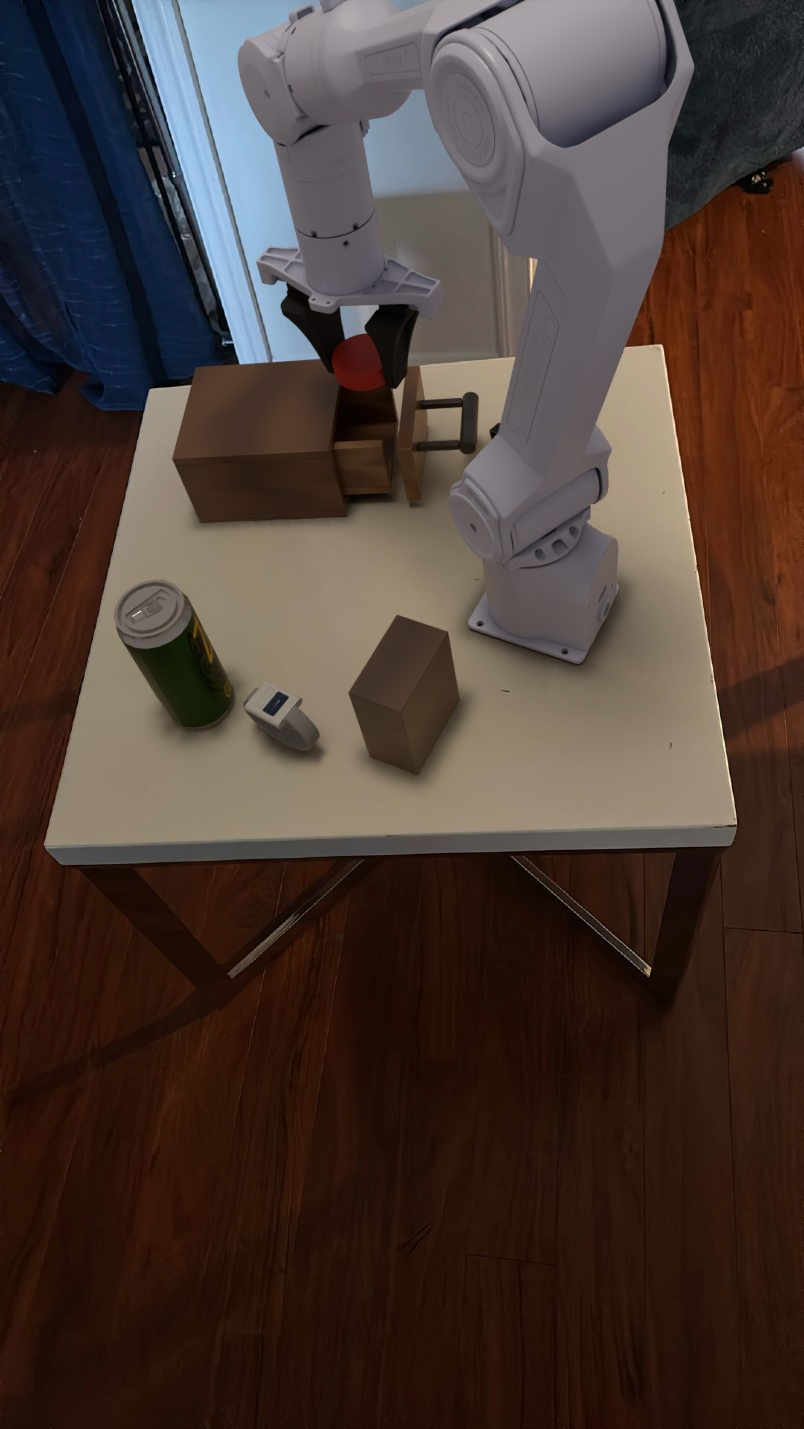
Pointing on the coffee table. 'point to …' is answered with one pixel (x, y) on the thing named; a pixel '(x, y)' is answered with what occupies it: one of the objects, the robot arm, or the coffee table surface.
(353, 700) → the stand
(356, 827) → the coffee table surface
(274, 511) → the cabinet
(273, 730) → the wristwatch
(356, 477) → the drawer
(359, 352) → the lid
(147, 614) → the beer can
